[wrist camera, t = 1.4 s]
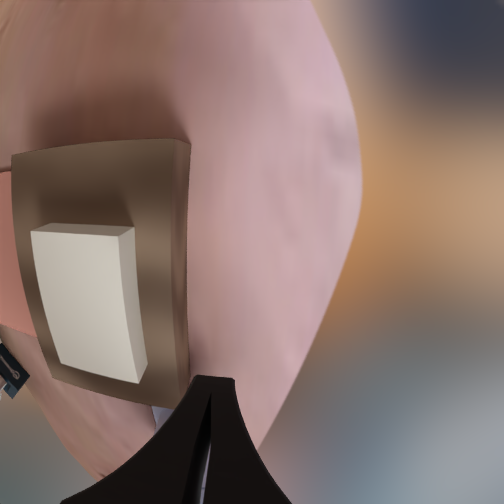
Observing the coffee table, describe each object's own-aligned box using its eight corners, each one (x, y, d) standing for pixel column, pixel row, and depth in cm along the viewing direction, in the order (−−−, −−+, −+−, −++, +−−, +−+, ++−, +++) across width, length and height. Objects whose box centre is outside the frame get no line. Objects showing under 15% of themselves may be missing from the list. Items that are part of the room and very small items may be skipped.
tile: (147, 363, 16) (138, 383, 14) (73, 347, 16) (61, 363, 14) (134, 226, 13) (118, 236, 11) (50, 223, 13) (30, 230, 11)
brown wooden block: (190, 376, 21) (182, 410, 17) (72, 352, 21) (52, 377, 17) (191, 144, 16) (174, 138, 12) (45, 153, 16) (11, 155, 12)
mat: (67, 343, 21) (65, 346, 20) (1, 321, 20) (-1, 323, 20) (42, 166, 16) (39, 166, 15) (-23, 177, 15) (-25, 177, 15)
